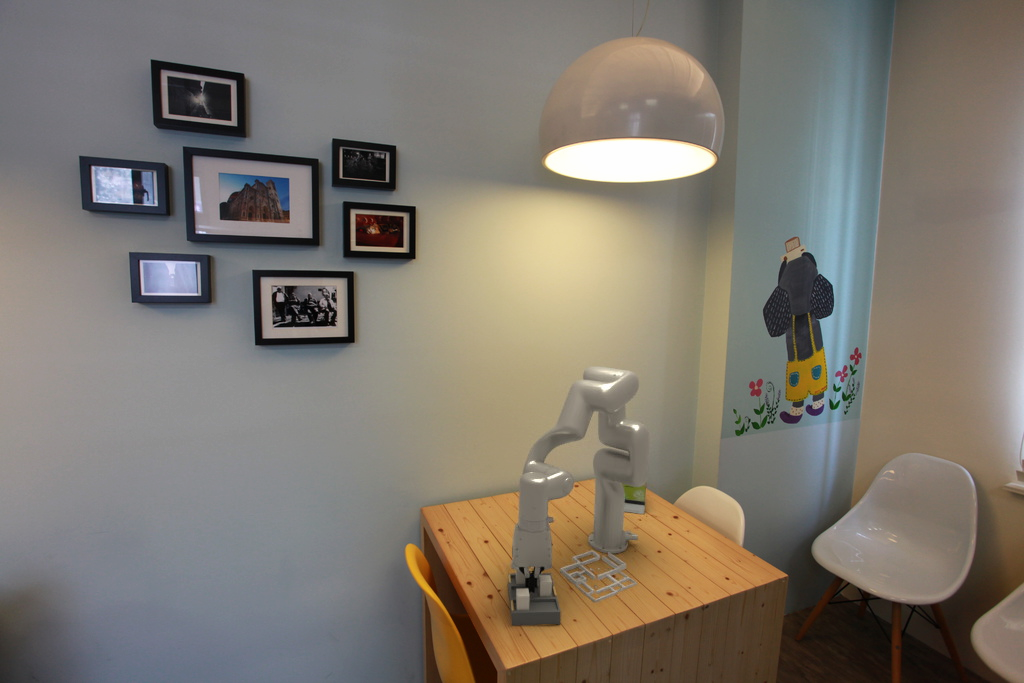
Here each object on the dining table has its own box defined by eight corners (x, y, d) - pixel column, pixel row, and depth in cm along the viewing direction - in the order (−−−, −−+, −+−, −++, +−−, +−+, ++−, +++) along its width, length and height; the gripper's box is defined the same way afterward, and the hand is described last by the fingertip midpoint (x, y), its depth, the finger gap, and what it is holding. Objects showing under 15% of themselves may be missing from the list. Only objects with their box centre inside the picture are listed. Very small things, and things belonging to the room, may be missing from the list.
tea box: (604, 510, 175) (605, 472, 174) (604, 499, 185) (606, 463, 184) (644, 515, 172) (646, 476, 171) (643, 503, 182) (645, 467, 180)
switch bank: (550, 584, 128) (551, 572, 128) (560, 624, 112) (560, 610, 112) (507, 584, 127) (508, 572, 127) (511, 625, 112) (511, 611, 111)
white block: (549, 589, 121) (550, 575, 121) (551, 596, 118) (552, 581, 118) (538, 589, 121) (539, 575, 121) (539, 596, 118) (540, 582, 118)
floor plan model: (587, 543, 152) (587, 537, 152) (645, 583, 130) (645, 577, 130) (540, 558, 142) (541, 552, 142) (595, 604, 121) (595, 597, 121)
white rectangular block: (526, 577, 126) (526, 563, 126) (527, 583, 124) (527, 569, 123) (515, 577, 126) (515, 563, 126) (516, 584, 123) (516, 569, 123)
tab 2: (527, 603, 116) (528, 588, 115) (529, 611, 113) (529, 596, 112) (515, 603, 115) (516, 588, 115) (516, 611, 112) (517, 596, 112)
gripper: (559, 514, 122) (556, 580, 124) (503, 515, 121) (501, 581, 123) (564, 528, 115) (561, 598, 116) (504, 529, 114) (502, 599, 115)
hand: (530, 589), depth 119 cm, fingers closed
